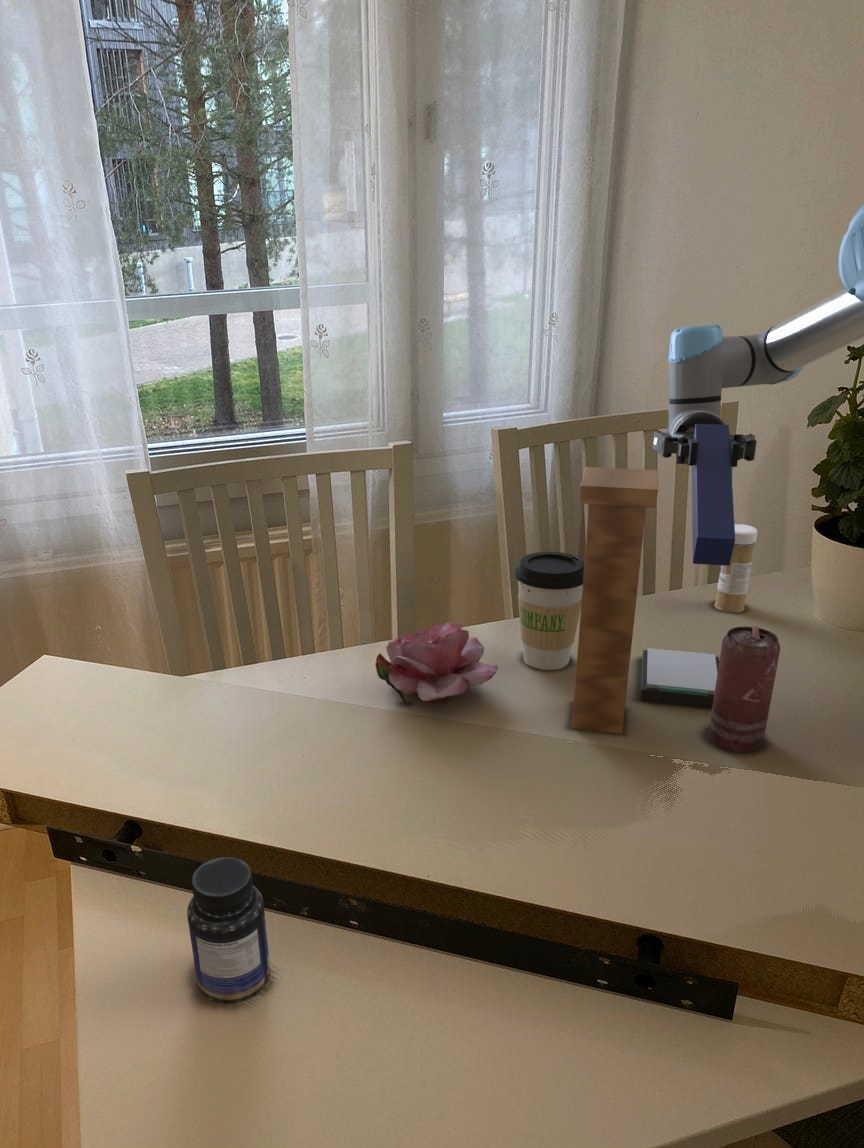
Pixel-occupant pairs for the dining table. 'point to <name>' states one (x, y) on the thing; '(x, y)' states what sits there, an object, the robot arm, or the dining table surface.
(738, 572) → the sprinkles bottle
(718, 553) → the spaghetti box
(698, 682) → the scale
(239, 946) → the pill bottle
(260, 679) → the dining table surface
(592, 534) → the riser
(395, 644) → the flower
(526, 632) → the coffee cup
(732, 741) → the can
